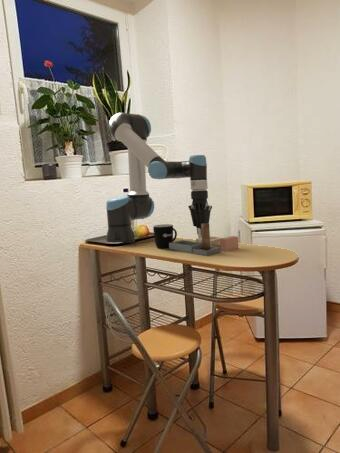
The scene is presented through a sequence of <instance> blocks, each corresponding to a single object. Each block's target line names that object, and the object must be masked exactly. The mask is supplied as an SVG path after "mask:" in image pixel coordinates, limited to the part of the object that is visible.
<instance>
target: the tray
mask: <svg viewBox="0 0 340 453" xmlns="http://www.w3.org/2000/svg"><path fill="white" fill-rule="evenodd" d="M198 247H202V243H200V242H196V241H194V240H193V241H192V240H185V239H184V240H183V239H182V240H175V241H173V242H171V243H169V248H168V249H169V250H170V251H175V252H180V253H182V252H183V253H186V254H188V253H189V254H193V250H192V249H193V248H198Z"/></svg>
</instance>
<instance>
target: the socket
mask: <svg viewBox="0 0 340 453" xmlns="http://www.w3.org/2000/svg"><path fill="white" fill-rule="evenodd" d="M192 250H193V253H192V255H193V254H195V255H200V256H206V257H208V256H213V255H216V254H219V253H221V248H219V247H212V246H210V249H207V250H205V249H202V247H198V248H193V249H192Z"/></svg>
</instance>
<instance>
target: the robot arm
mask: <svg viewBox="0 0 340 453" xmlns="http://www.w3.org/2000/svg"><path fill="white" fill-rule="evenodd" d="M108 129H109V132H110V135H111V136H113V138H114V139H115V140H116V141H117V142H121V143H122V144H123V145H124V146H125V148H127V156H128V177H129V179H128V180H129V192H128V193H127V194H126V195H121V196H116V197H111V198H109V199H107V201H106V207H105V209H106V216H107V227H108V228H107V232H106V235H105V236H106V237H105V242H106V241H107V242H126V243H131V244H134V243H136V242H135V239H136V236H135V234H134V233H135V232H134V230H133V228H132V222H131V221H137V220H144V219H148V218H149V217H151V216H152V215H153V213H154V210H155V202H154V200H153V198H152V197H151V196H150V193H149V192H148V191H147V181H146V177H147V176H146V168H147V172H148V174H149V176H150V178H151V179H155V180H165V179H166V180H167V179H185V178H186V179H187V178H190V179H189V180H190V190H191V191H190V196H191V197H190V198H191V200H192V202H191V205H188V206H187V207H188V210H189V213H190V217H191V220H192V226H193V227H195V228H196V234H197V238H202V228H201V224H204V223H208V224H209V225H210V218H211V211H212V208H213V206H212V205H209V202H208V198H209V192H208V187H209V186H208V176H207V175H208V170H207V168H208V164H207V157H206V156H205V154H195V155H194V154H193V155H190V156H189V157H188V158H189V159H188V160H186V161H165V160H164V159H163V158H162V156H161V155H159V154H158V153H157V152H156V151H155V150H154V149H153V148H152V147H151V146H150V145H148V143H147V141H148V139H147V138H148V137H149V136H150V134H151V132H152V124H151V123H150V120H149V119H148V118H147V117H146V116H145V115H141V114H139V113H138V114H136V113H127V112H117V113H115V114H114V115H113V116H111V117H110V120H109V122H108Z"/></svg>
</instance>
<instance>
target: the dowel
mask: <svg viewBox="0 0 340 453" xmlns="http://www.w3.org/2000/svg"><path fill="white" fill-rule="evenodd" d="M201 228H202V249H205V250H207V249H210V236H211V233H210V231H211V230H210V223H209V224H208V223H204V224H201Z"/></svg>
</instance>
